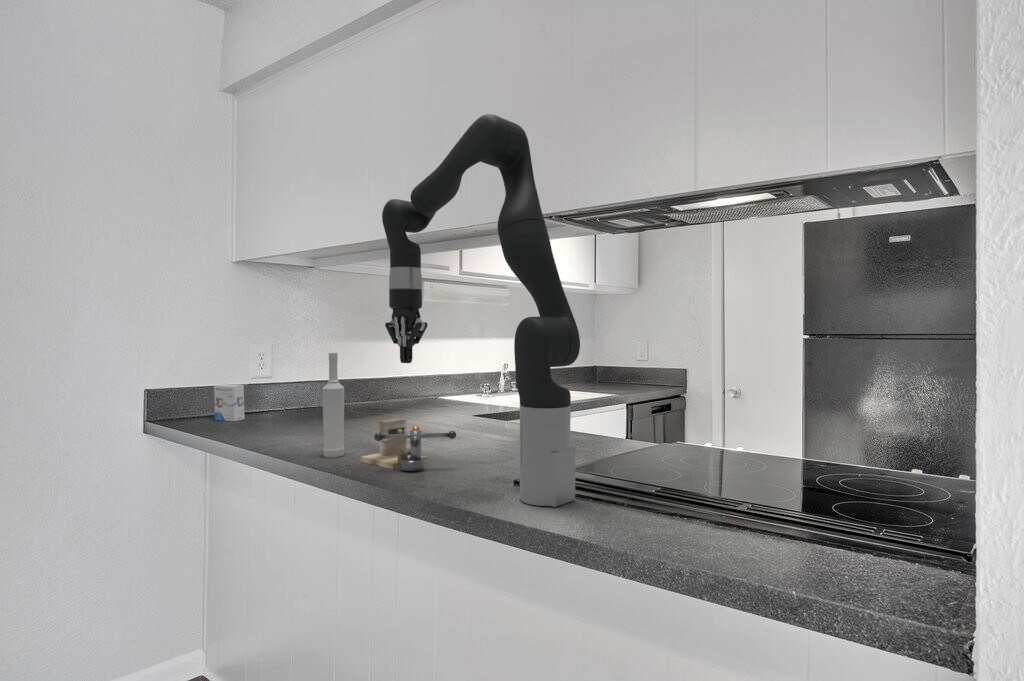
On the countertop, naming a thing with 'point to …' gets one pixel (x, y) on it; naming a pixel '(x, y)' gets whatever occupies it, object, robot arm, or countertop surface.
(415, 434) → the grey cross handle
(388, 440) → the stand
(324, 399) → the bottle
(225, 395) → the ink box
